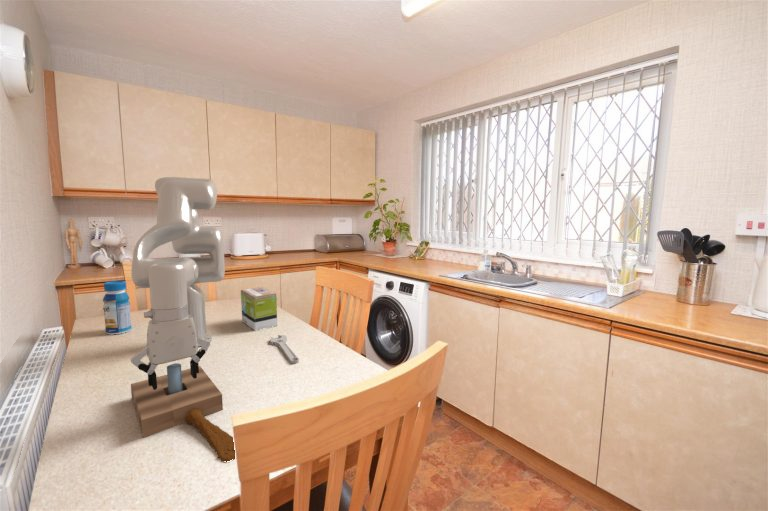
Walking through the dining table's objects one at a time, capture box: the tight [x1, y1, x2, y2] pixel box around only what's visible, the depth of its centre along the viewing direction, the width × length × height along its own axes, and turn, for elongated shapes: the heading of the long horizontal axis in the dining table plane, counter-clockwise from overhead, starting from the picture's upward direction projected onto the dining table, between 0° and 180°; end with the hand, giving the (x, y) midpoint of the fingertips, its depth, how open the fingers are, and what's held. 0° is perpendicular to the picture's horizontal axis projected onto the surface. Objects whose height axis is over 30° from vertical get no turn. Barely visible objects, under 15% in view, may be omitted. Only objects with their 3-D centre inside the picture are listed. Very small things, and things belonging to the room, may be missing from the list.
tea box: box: [240, 286, 278, 331], centre depth 145 cm, size 15×10×15 cm
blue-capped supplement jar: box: [102, 280, 132, 336], centre depth 133 cm, size 8×8×20 cm
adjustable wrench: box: [269, 334, 300, 365], centre depth 119 cm, size 25×6×2 cm, turn 27°
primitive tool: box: [185, 409, 236, 462], centre depth 72 cm, size 19×6×4 cm, turn 57°
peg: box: [166, 362, 183, 395], centre depth 84 cm, size 3×3×10 cm
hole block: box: [130, 365, 224, 438], centre depth 85 cm, size 20×16×4 cm
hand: (174, 381), depth 84 cm, fingers open, 8 cm apart
